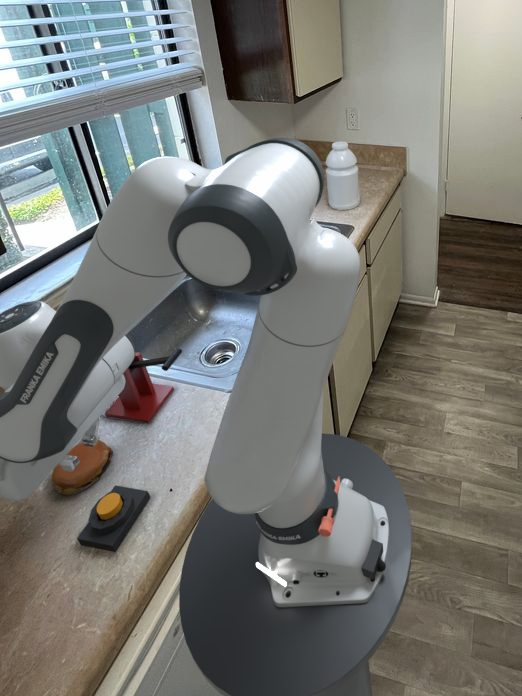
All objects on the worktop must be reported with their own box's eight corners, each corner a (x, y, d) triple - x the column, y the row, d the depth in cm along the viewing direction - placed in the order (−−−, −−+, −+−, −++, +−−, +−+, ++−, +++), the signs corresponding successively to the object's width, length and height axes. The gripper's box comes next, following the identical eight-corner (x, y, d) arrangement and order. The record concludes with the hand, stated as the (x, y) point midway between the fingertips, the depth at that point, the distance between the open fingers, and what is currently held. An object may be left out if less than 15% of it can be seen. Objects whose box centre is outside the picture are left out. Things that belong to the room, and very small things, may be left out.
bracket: (174, 389, 106) (159, 347, 100) (149, 423, 98) (131, 379, 92) (133, 384, 107) (117, 342, 101) (105, 416, 99) (85, 373, 93)
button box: (150, 497, 84) (145, 485, 82) (115, 552, 76) (108, 540, 74) (118, 491, 85) (112, 479, 83) (80, 545, 77) (72, 532, 75)
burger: (45, 499, 84) (36, 484, 82) (74, 451, 92) (67, 437, 90) (99, 494, 84) (91, 479, 82) (123, 447, 93) (116, 433, 91)
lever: (184, 354, 96) (179, 346, 95) (170, 372, 92) (164, 364, 91) (132, 362, 100) (126, 354, 100) (116, 379, 96) (110, 371, 95)
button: (127, 500, 80) (124, 494, 79) (112, 521, 77) (109, 516, 76) (109, 496, 80) (107, 491, 80) (94, 518, 77) (91, 512, 76)
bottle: (330, 212, 186) (323, 150, 173) (327, 198, 198) (321, 139, 186) (362, 208, 188) (358, 147, 176) (358, 194, 201) (354, 136, 188)
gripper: (2, 468, 56) (42, 528, 62) (119, 348, 74) (142, 403, 80) (-39, 461, 57) (5, 521, 63) (87, 344, 75) (111, 399, 81)
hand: (82, 454), depth 72 cm, fingers open, 3 cm apart
